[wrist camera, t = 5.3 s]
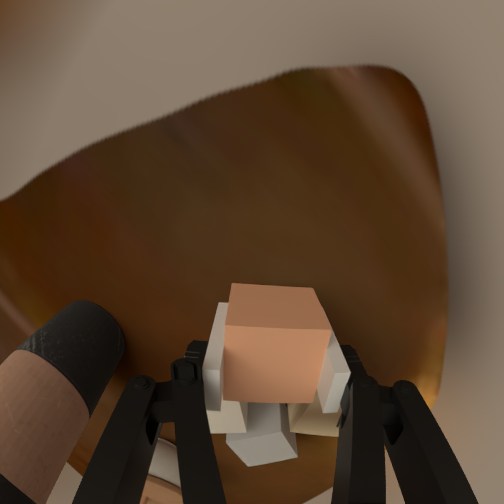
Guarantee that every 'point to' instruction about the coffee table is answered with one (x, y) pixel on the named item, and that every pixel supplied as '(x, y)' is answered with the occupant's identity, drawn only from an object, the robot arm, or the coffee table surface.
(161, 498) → the lidded jar
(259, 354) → the cube terracotta
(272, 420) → the cube grey
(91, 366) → the travel mug
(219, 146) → the coffee table surface
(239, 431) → the cube cream
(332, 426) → the cube maple
